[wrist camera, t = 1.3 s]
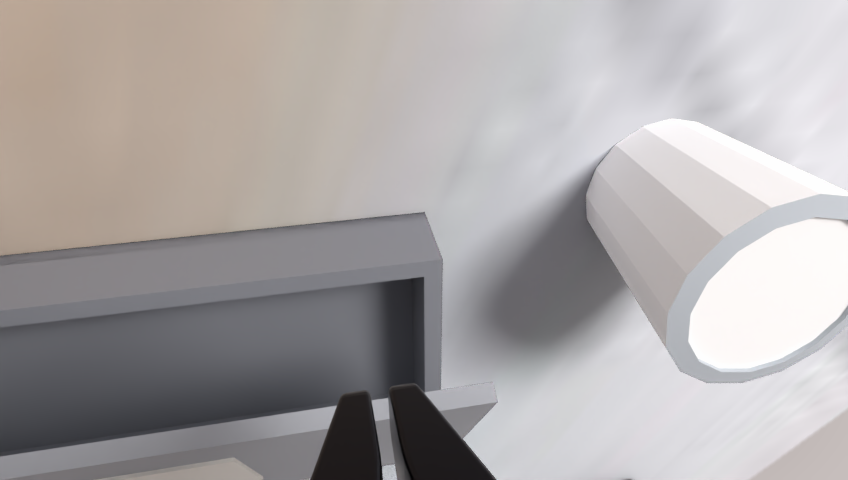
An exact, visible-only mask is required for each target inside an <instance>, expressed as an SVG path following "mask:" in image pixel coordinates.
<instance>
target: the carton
mask: <svg viewBox="0 0 848 480" xmlns="http://www.w3.org/2000/svg"><path fill="white" fill-rule="evenodd" d="M442 270H443V259H442V256H441V254H440V251H439V249H438V246H437V243H436V241H435V238H434V235H433V233H432V230H431V228H430V225H429V222H428V220H427V217H426V215H425V212H423V213H413V214H403V215H394V216H384V217H374V218H364V219H355V220H345V221H335V222H326V223H316V224H306V225H296V226H287V227H277V228H267V229H257V230H248V231H238V232H228V233H218V234H209V235H199V236H189V237H179V238H170V239H160V240H150V241H141V242H131V243H121V244H111V245H102V246H92V247H82V248H72V249H63V250H53V251H43V252H33V253H24V254H14V255H4V256H0V457H1V456H8V455H14V454H21V453H27V452H34V451H41V450H47V449H54V448H60V447H67V446H74V445H80V444H87V443H93V442H100V441H107V440H113V439H120V438H126V437H133V436H140V435H146V434H153V433H159V432H166V431H173V430H179V429H186V428H192V427H199V426H206V425H212V424H219V423H225V422H232V421H239V420H245V419H252V418H258V417H265V416H272V415H278V414H285V413H291V412H298V411H305V410H311V409H318V408H324V407H331V406H337V404H338V401H339V398H340V397H341V395H342V394H344V393H348V392H355V391H362V390H367V391H369V392H370V395H371V400H377V399H384V398H388V390H389V388H390V387H391V386H395V385H402V384H409V383H414V384H417V385H418V386H419V387H420V388H421V389H422V391H423V392H430V391H437V390H441V337H442Z"/></svg>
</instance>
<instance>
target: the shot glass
mask: <svg viewBox="0 0 848 480" xmlns="http://www.w3.org/2000/svg"><path fill="white" fill-rule="evenodd" d="M586 211H587V220H588V222H589V223H590V225H591V227H592V228H593V230H594V232H595V233H596V235H597V237H598V238H599V240H600V242H601V243H602V245H603V246H604V248H605V250H606V251H607V253H608V255H609V256H610V258H611V259H612V261H613V263H614V264H615V266H616V268H617V269H618V271H619V272H620V274H621V276H622V277H623V279H624V281H625V282H626V284H627V285H628V287H629V289H630V290H631V292H632V294H633V295H634V297H635V299H636V300H637V302H638V303H639V305H640V307H641V308H642V310H643V312H644V313H645V315H646V316H647V318H648V320H649V321H650V323H651V325H652V326H653V328H654V329H655V331H656V333H657V334H658V336H659V338H660V339H661V341H662V342H663V344H664V346H665V347H666V349H667V351H668V352H669V354H670V355H671V357H672V359H673V360H674V362H675V364H676V365H677V367H678V369H679V370H680V371H681V372H683V373H685V374H688V375H690V376H692V377H694V378H697V379H699V380H701V381H703V382H706V383H744V382H747V381H750V380H754V379H757V378H760V377H764V376H767V375H770V374H774V373H777V372H780V371H783V370H784V369H786V368H788V367H790V366H792V365H793V364H795V363H797V362H799V361H801V360H802V359H804V358H806V357H808V356H809V355H811V354H813V353H815V352H817V351H818V350H820V349H821V348H822V347H824V346H825V345H826V344H827V343H828V342H829V341H831V340H832V339H833V338H834V337H835V336H836V335H837V334H839V333H840V332H841V331H842V330H843V329H844V328H845V327H847V326H848V191H846V190H843V189H841V188H839V187H837V186H835V185H833V184H830V183H828V182H826V181H824V180H822V179H820V178H817V177H815V176H813V175H811V174H809V173H807V172H804V171H802V170H800V169H798V168H796V167H794V166H791V165H789V164H787V163H785V162H783V161H781V160H778V159H776V158H774V157H772V156H770V155H768V154H766V153H763V152H761V151H759V150H757V149H755V148H753V147H750V146H748V145H746V144H744V143H742V142H740V141H737V140H735V139H733V138H731V137H729V136H727V135H724V134H722V133H720V132H718V131H716V130H714V129H711V128H709V127H707V126H705V125H703V124H701V123H698V122H694V121H687V120H679V119H667V120H664V121H660V122H656V123H653V124H649V125H646V126H642V127H641V128H639V129H638V130H636V131H635V132H633V133H632V134H630V135H629V136H627V137H626V138H624V139H623V140H621V141H620V142H618V143H617V144H615V145H614V147H613V148H612V149H611V150H610V152H609V153H608V154H607V155H606V156H605V158H604V159H603V160H602V161H601V163H600V164H599V165H598V166H597V168H596V169H595V172H594V174H593V177H592V180H591V182H590V185H589V188H588V190H587V193H586Z"/></svg>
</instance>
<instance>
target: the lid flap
mask: <svg viewBox="0 0 848 480" xmlns="http://www.w3.org/2000/svg"><path fill="white" fill-rule="evenodd" d="M424 393H425V394H426V395H427V397H428V398H429V399H430V400H431V401H432V403H433V404H434V405H435V406H436V408H437V409H438V410H439V411H440V412H441V414H442V415H443V416H444V417H445V418H446V420H447V421H448V422H449V423H450V424H451V426H452V427H453V428H454V429H455V430H456V432H457V433H458V434H459V435H460V436H461V438H462V439H463V438H464V437H465V436H466V435H467V434H468V433H469V432H470V431H471V429H472V428H473V427H474V426H475V425H476V424H477V423H478V422H479V421H480V420H481V419H482V418H483V417H484V416H485V415H486V414H487V413H488V412H489V411H490V410H491V408H492V407H493V406H494V405H495V404H496V403H497V402H498V401H497V396H496V392H495V387H494V383H493V382H489V383H483V384H476V385H470V386H463V387H456V388H450V389H443V390H437V391H430V392H424ZM372 406H373V412H374V418H375V424H376V430H377V436H378V442H379V448H380V454H381V463H382V466H386V465H392V464H395V460H394V454H393V447H392V440H391V433H390V421H389V403H388V398H384V399H377V400H372ZM336 407H337V406H331V407H324V408H318V409H311V410H305V411H298V412H291V413H285V414H278V415H272V416H265V417H258V418H252V419H245V420H239V421H232V422H225V423H219V424H212V425H206V426H199V427H192V428H186V429H179V430H173V431H166V432H159V433H153V434H146V435H140V436H133V437H126V438H120V439H113V440H107V441H100V442H93V443H87V444H80V445H74V446H67V447H60V448H54V449H47V450H41V451H34V452H27V453H21V454H14V455H8V456H1V457H0V480H303V479H309V478H311V476H312V474H313V471H314V468H315V465H316V462H317V460H318V457H319V454H320V451H321V448H322V446H323V443H324V440H325V437H326V434H327V432H328V429H329V426H330V423H331V421H332V418H333V415H334V412H335V409H336Z"/></svg>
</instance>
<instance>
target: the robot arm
mask: <svg viewBox="0 0 848 480" xmlns="http://www.w3.org/2000/svg"><path fill="white" fill-rule="evenodd" d="M388 403H389V421H390V433H391V440H392V447H393V454H394V460H395V467H396V474H397V480H496V479H495V477H494V476H493V475H492V474H491V473H490V471H489V470H488V469H487V468H486V466H485V465H484V464H483V463H482V462H481V460H480V459H479V458H478V457H477V456H476V454H475V453H474V452H473V451H472V450H471V448H470V447H469V446H468V445H467V444H466V442H465V441H464V440H463V439H462V438H461V436H460V435H459V434H458V433H457V432H456V430H455V429H454V428H453V427H452V426H451V424H450V423H449V422H448V421H447V420H446V418H445V417H444V416H443V415H442V414H441V412H440V411H439V410H438V409H437V408H436V406H435V405H434V404H433V403H432V401H431V400H430V399H429V398H428V397H427V395H426V394H425V393H424V392H423V391H422V389H421V388H420V387H419V386H418V385H417V384H414V383H409V384H402V385H395V386H391V387H390V388H389V390H388ZM310 480H383V476H382V463H381V454H380V448H379V442H378V436H377V430H376V424H375V418H374V412H373V406H372V400H371V395H370V392H369V391H367V390H362V391H355V392H348V393H344V394H342V395H341V397H340V398H339V401H338V404H337V407H336V409H335V412H334V415H333V418H332V421H331V423H330V426H329V429H328V432H327V434H326V437H325V440H324V443H323V446H322V448H321V451H320V454H319V457H318V460H317V462H316V465H315V468H314V471H313V474H312V476H311V479H310Z"/></svg>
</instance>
